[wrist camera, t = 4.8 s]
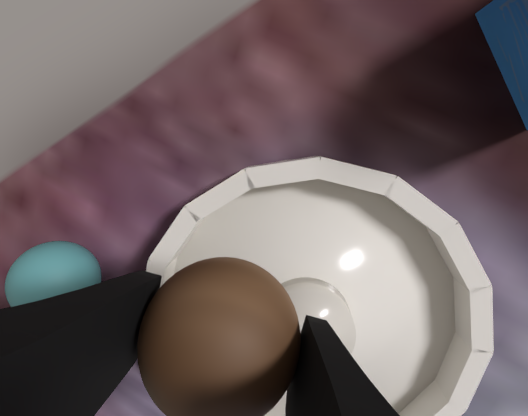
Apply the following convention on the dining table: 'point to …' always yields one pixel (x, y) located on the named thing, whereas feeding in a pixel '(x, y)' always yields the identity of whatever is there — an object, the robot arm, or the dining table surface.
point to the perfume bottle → (509, 46)
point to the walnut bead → (219, 340)
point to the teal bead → (50, 272)
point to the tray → (355, 271)
